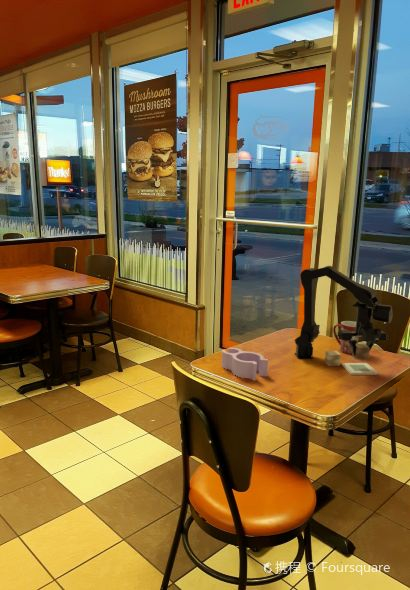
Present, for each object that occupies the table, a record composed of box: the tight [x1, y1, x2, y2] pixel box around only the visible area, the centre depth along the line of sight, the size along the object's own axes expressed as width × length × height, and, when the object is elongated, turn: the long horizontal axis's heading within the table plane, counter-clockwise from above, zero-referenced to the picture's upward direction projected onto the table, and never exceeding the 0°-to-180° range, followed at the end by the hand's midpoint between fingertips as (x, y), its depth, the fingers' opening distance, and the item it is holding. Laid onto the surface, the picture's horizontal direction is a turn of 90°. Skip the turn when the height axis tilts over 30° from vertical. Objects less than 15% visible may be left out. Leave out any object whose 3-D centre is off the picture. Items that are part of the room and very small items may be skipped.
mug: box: [332, 320, 360, 355], centre depth 209 cm, size 13×9×14 cm
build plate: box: [340, 362, 379, 376], centre depth 187 cm, size 11×11×1 cm
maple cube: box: [324, 350, 342, 367], centre depth 193 cm, size 5×5×5 cm
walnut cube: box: [351, 343, 371, 361], centre depth 185 cm, size 5×5×5 cm
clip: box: [221, 347, 269, 381], centre depth 182 cm, size 20×12×7 cm, turn 42°
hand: (360, 354), depth 186 cm, fingers closed on walnut cube, 5 cm apart
